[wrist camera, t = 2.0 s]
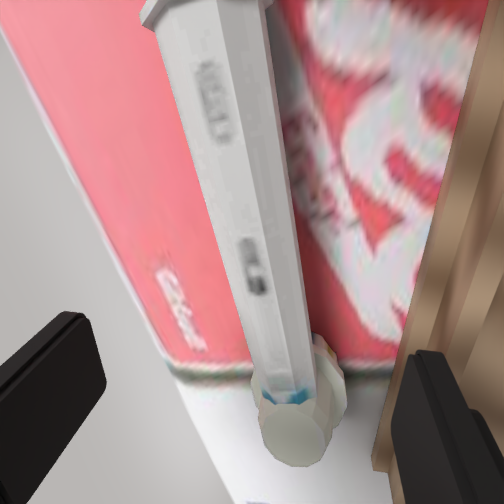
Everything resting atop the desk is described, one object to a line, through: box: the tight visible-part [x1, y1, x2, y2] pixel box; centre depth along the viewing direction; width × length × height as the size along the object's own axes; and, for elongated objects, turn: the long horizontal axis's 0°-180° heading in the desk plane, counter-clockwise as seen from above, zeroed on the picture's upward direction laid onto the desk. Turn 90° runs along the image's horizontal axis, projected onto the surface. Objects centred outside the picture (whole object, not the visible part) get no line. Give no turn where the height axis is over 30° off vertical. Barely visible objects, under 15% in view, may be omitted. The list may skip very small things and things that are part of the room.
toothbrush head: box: [139, 0, 347, 467], centre depth 15 cm, size 5×7×25 cm
